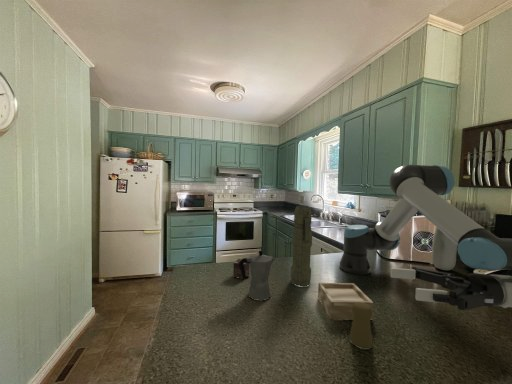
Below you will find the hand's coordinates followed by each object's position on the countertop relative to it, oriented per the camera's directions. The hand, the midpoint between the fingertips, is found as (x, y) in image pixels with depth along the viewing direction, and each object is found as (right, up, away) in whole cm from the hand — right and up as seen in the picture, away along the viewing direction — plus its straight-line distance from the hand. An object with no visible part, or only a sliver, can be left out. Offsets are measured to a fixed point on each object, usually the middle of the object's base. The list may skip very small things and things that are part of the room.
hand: (402, 282), depth 60 cm
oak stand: (-8, -18, +20) cm, 28 cm away
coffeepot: (-40, -17, +27) cm, 51 cm away
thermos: (-20, -17, +39) cm, 47 cm away
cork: (-10, -18, +3) cm, 21 cm away
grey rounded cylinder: (+63, -18, +61) cm, 89 cm away
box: (-47, -16, +45) cm, 67 cm away
